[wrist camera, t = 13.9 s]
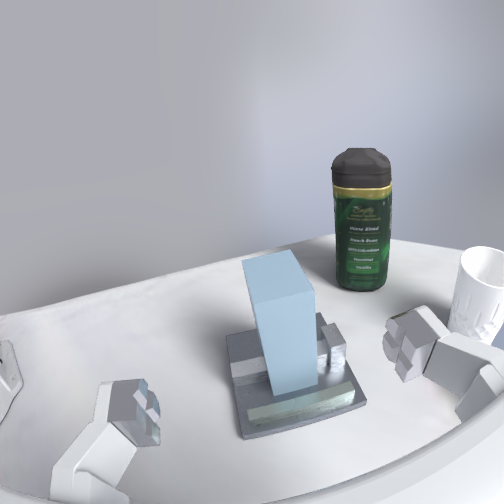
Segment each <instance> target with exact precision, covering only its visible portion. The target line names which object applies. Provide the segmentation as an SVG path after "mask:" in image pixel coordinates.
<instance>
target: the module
mask: <svg viewBox="0 0 504 504" xmlns="http://www.w3.org/2000/svg"><path fill="white" fill-rule="evenodd" d="M242 265H243V269H244V274H245V278H246V283H247V287H248V292H249V296H250V301H251V305H252V310H253V314H254V319H255V323H256V327H257V332H258V336H259V341H260V345H261V349H262V353H263V356H264V358H265V362H266V366H267V370H268V374H269V378H270V383H271V387H272V391H273V395H274V396H276V395H280V394H284V393H288V392H292V391H296V390H299V389H303V388H307V387H310V386H313V385H317V384H318V364H317V335H316V314H315V296H314V289H313V287H312V285H311V283H310V282H309V280H308V278H307V277H306V275H305V273H304V271H303V270H302V268H301V266H300V265H299V263H298V261H297V259H296V258H295V256H294V254H293V253H292V251H291V249H289V250H285V251H280V252H276V253H272V254H267V255H263V256H259V257H254V258H250V259H246V260H242Z"/></svg>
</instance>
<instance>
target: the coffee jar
mask: <svg viewBox="0 0 504 504" xmlns="http://www.w3.org/2000/svg"><path fill="white" fill-rule="evenodd" d="M331 170H332V183H333V196H334V212H335V234H336V279H337V281H338V283H339V284H340V285H341V286H343V287H345V288H349V289H352V290H357V291H368V290H373V289H377V288H380V287H382V286H383V285H384V283H385V282H386V278H387V271H388V262H389V249H390V236H391V218H392V178H391V165H390V161H389V160H388V158H387V157H386V156H385V155H383V154H382V153H380V152H378V151H377V150H376V149H374V148H348V149H347V150H346V151H345V152H343V153H341V154H339V155H338V156H337V157H336V158H335V159H334V161H333V163H332V167H331Z"/></svg>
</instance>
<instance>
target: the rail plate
mask: <svg viewBox="0 0 504 504" xmlns="http://www.w3.org/2000/svg"><path fill="white" fill-rule="evenodd" d="M316 335H317V364H318V384H317V385H313V386H310V387H307V388H303V389H299V390H296V391H292V392H288V393H284V394H280V395H276V396H274V395H273V391H272V387H271V383H270V378H269V374H268V370H267V366H266V362H265V358H264V356H263V353H262V349H261V345H260V341H259V336H258V332H257V329H255V330H250V331H246V332H242V333H237V334H233V335H229V336H226V341H227V347H228V354H229V360H230V367H231V373H232V379H233V385H234V391H235V397H236V403H237V409H238V415H239V420H240V426H241V431H242V436H243V438H244V440H248V439H253V438H257V437H262V436H266V435H271V434H275V433H279V432H283V431H287V430H291V429H294V428H298V427H302V426H305V425H309V424H312V423H315V422H319V421H322V420H325V419H328V418H331V417H334V416H337V415H340V414H343V413H346V412H348V411H351V410H354V409H357V408H359V407H362V406H365V405H366V402H367V399H366V397H365V395H364V393H363V391H362V389H361V387H360V386H359V384H358V382H357V380H356V378H355V376H354V374H353V372H352V370H351V368H350V367H349V365H348V363H347V361H346V359H345V355H346V342H345V340H344V338H343V336H342V335H341V333H340V331H339V329H338V328H337V326H336V324H335V323H332V324H329V325H327V324H326V322H325V320H324V318H323V317H322V315H321V313H320V312H319V313H316Z"/></svg>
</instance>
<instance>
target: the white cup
mask: <svg viewBox="0 0 504 504" xmlns="http://www.w3.org/2000/svg"><path fill="white" fill-rule="evenodd" d="M503 322H504V252H502V251H500V250H497V249H494V248H490V247H481V246H480V247H472V248H469V249H467V250H465V251H464V252H463V253H462V255H461V257H460V263H459V269H458V275H457V280H456V285H455V290H454V296H453V301H452V306H451V311H450V317H449V321H448V325H447V329H448V330H449V331H450V332H451V333H452V332H456V333H459V334H461V335H464V336H467V337H469V338H472V339H475V340H477V341H480V342H483V343H485V344H488V345H491V343H492V341H493V339H494V337H495V335H496V333H497V332H498V331H499V330H500V328H501V325H502V324H503Z"/></svg>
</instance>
